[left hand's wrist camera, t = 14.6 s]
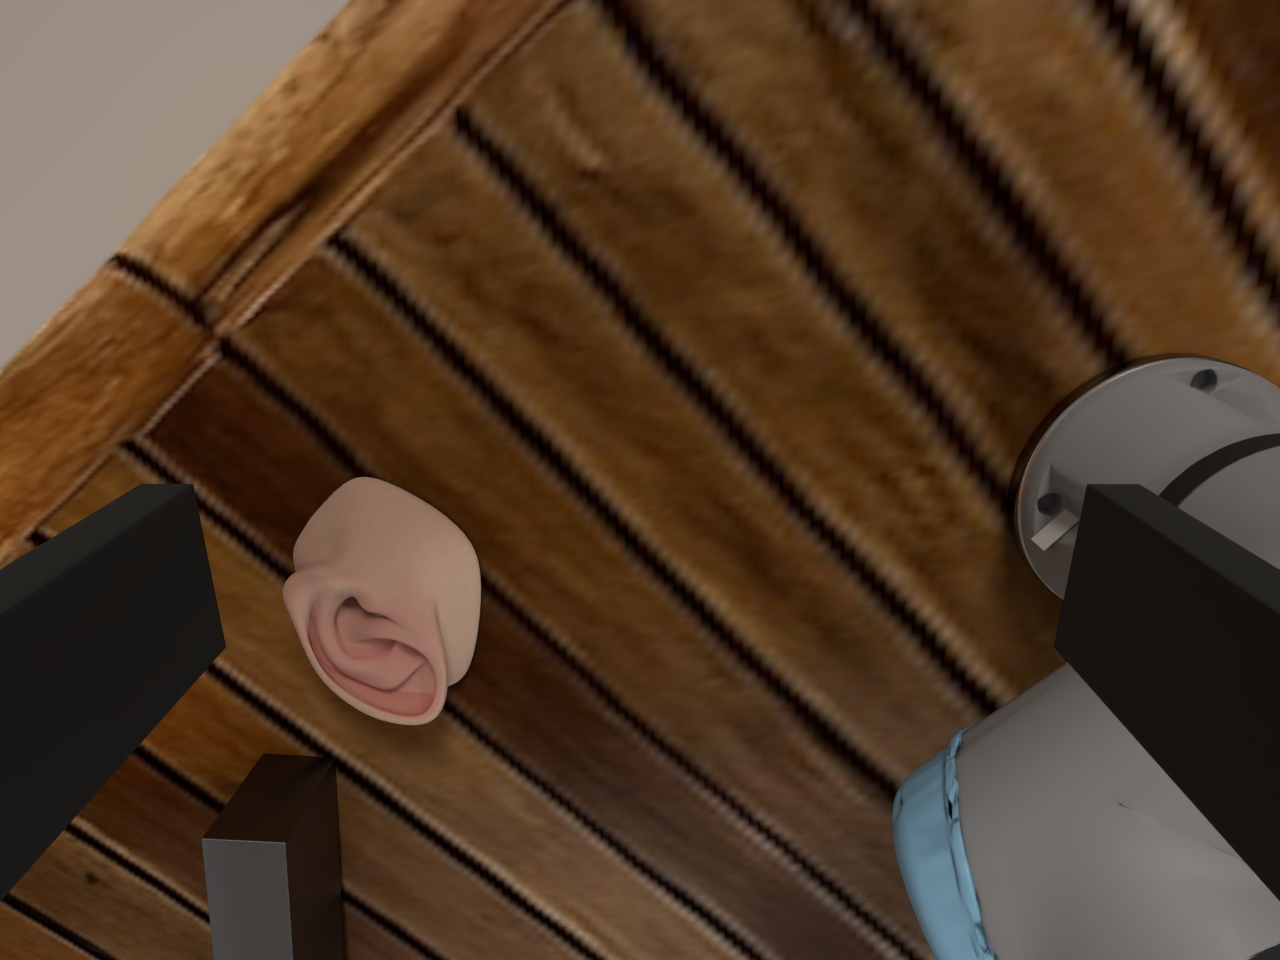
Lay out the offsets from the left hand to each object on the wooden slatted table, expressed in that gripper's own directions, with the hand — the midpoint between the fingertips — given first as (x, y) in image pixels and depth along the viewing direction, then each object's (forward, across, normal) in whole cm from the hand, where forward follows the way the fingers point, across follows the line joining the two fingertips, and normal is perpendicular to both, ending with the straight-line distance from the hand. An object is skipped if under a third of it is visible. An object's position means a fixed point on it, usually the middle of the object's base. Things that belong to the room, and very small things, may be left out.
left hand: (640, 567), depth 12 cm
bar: (+31, -23, -43) cm, 58 cm away
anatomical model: (+32, -15, -17) cm, 39 cm away
